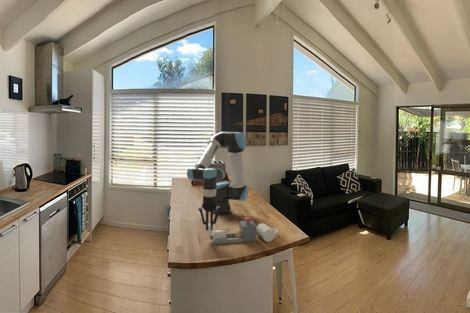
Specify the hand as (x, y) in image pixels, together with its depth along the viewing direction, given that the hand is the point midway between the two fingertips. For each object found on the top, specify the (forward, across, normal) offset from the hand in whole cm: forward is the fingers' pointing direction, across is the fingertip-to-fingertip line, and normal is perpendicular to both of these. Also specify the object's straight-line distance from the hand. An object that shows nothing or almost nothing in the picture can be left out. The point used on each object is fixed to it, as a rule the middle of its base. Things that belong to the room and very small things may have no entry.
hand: (209, 235), depth 156 cm
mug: (+5, +36, +1) cm, 36 cm away
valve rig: (+4, +14, 0) cm, 15 cm away
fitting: (+3, +6, 0) cm, 7 cm away
